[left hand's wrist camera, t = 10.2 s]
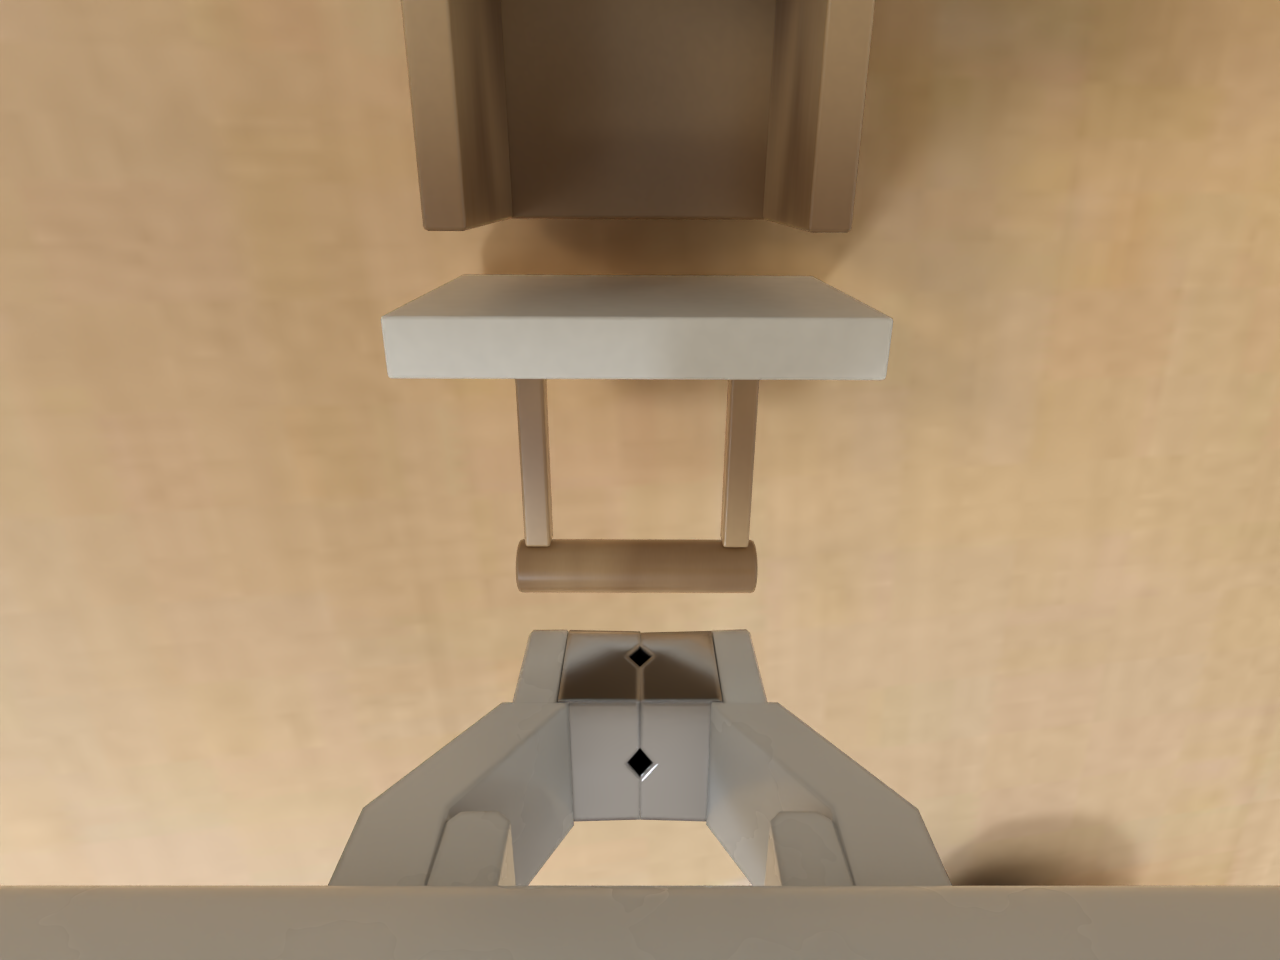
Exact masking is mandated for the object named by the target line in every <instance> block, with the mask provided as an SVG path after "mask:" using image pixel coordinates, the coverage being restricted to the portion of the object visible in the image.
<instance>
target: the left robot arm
mask: <svg viewBox="0 0 1280 960" xmlns="http://www.w3.org/2000/svg"><path fill="white" fill-rule="evenodd" d="M637 819H641V820H676V821H706V825H707V826H708V827H709V829H710V830H711V831H712V833H713V834H714V835H715V837H716V838H717V839H718V841H719V842H720V843H721V845H722V846H723V847H724V848H725V850H726V851H727V852H728V854H729V855H730V856H731V858H732V859H733V860H734V862H735V863H736V864H737V866H738V867H739V868H740V870H741V871H742V872H743V874H744V875H745V876H746V877H747V879H748V880H749V881H750V883H751V884H752V885H753V886H528V885H529V883H530V882H531V881H532V879H533V878H534V877H535V875H536V874H537V873H538V871H539V870H540V869H541V867H542V866H543V865H544V864H545V862H546V861H547V860H548V858H549V857H550V856H551V854H552V853H553V852H554V850H555V849H556V848H557V847H558V845H559V844H560V843H561V841H562V840H563V839H564V837H565V836H566V835H567V833H568V832H569V831H570V829H571V828H572V827H573V826H574V821H602V820H637ZM0 960H1280V886H952V884H951V882H950V880H949V878H948V875H947V873H946V871H945V869H944V866H943V864H942V862H941V860H940V857H939V855H938V853H937V851H936V848H935V846H934V844H933V842H932V839H931V837H930V835H929V833H928V830H927V828H926V826H925V824H924V822H923V819H922V817H921V815H920V813H919V810H918V809H917V808H916V807H914V806H913V805H912V804H910V803H909V802H908V801H906V800H905V799H904V798H903V797H901V796H900V795H899V794H897V793H896V792H895V791H893V790H892V789H891V788H889V787H888V786H887V785H885V784H884V783H883V782H882V781H880V780H879V779H878V778H876V777H875V776H874V775H872V774H871V773H870V772H868V771H867V770H866V769H864V768H863V767H862V766H861V765H859V764H858V763H857V762H855V761H854V760H853V759H851V758H850V757H849V756H847V755H846V754H845V753H843V752H842V751H841V750H840V749H838V748H837V747H836V746H834V745H833V744H832V743H830V742H829V741H828V740H826V739H825V738H824V737H822V736H821V735H820V734H819V733H817V732H816V731H815V730H813V729H812V728H811V727H809V726H808V725H807V724H805V723H804V722H803V721H801V720H800V719H799V718H798V717H796V716H795V715H794V714H792V713H791V712H790V711H788V710H787V709H786V708H784V707H783V706H782V705H780V704H779V703H767V699H766V695H765V691H764V687H763V683H762V679H761V675H760V671H759V667H758V663H757V659H756V655H755V651H754V647H753V643H752V639H751V635H750V632H748V631H747V630H746V629H744V630H717V631H691V632H651V633H640V632H636V631H586V630H570V631H569V632H568V631H567V630H533V631H532V633H531V634H530V635H529V639H528V643H527V647H526V651H525V655H524V659H523V663H522V667H521V671H520V675H519V679H518V683H517V687H516V691H515V695H514V699H513V703H501V704H500V705H498V706H497V707H496V708H494V709H493V710H492V711H490V712H489V713H488V714H486V715H485V716H484V717H482V718H481V719H480V720H478V721H477V722H476V723H475V724H473V725H472V726H471V727H469V728H468V729H467V730H465V731H464V732H463V733H461V734H460V735H459V736H457V737H456V738H455V739H453V740H452V741H451V742H449V743H448V744H447V745H445V746H444V747H443V748H442V749H440V750H439V751H438V752H436V753H435V754H434V755H432V756H431V757H430V758H428V759H427V760H426V761H424V762H423V763H422V764H420V765H419V766H418V767H416V768H415V769H414V770H412V771H411V772H410V773H409V774H407V775H406V776H405V777H403V778H402V779H401V780H399V781H398V782H397V783H395V784H394V785H393V786H391V787H390V788H389V789H387V790H386V791H385V792H383V793H382V794H381V795H380V796H378V797H377V798H376V799H374V800H373V801H372V802H370V803H369V804H368V805H366V806H365V807H364V808H363V809H362V811H361V813H360V816H359V818H358V820H357V822H356V824H355V827H354V829H353V831H352V833H351V836H350V838H349V840H348V842H347V844H346V847H345V849H344V851H343V853H342V855H341V858H340V860H339V862H338V864H337V866H336V869H335V871H334V873H333V875H332V877H331V880H330V882H329V884H328V886H0Z"/></svg>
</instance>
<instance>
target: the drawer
mask: <svg viewBox="0 0 1280 960" xmlns="http://www.w3.org/2000/svg"><path fill="white" fill-rule="evenodd" d="M401 6H402V16H403V26H404V36H405V46H406V56H407V67H408V77H409V87H410V97H411V107H412V117H413V127H414V138H415V148H416V158H417V168H418V178H419V188H420V199H421V209H422V219H423V227H424V229H425V230H428V231H464V230H468V229H472V228H476V227H480V226H483V225H487V224H491V223H495V222H499V221H502V220H506V219H510V218H550V219H765V220H769V221H772V222H776V223H780V224H783V225H787V226H791V227H794V228H798V229H801V230H805V231H809V232H849V231H850V230H851V228H852V219H853V209H854V200H855V190H856V181H857V171H858V161H859V152H860V142H861V132H862V123H863V113H864V104H865V94H866V84H867V75H868V65H869V55H870V46H871V36H872V27H873V17H874V7H875V0H401ZM381 324H382V332H383V341H384V349H385V357H386V365H387V373H388V376H389V377H390V378H424V379H515V382H516V398H517V415H518V432H519V449H520V466H521V483H522V500H523V516H524V533H525V539H523V540H521V541H520V542H519V545H518V549H517V556H516V581H517V586H518V589H519V591H521V592H610V593H751V592H754V590H755V587H756V583H757V553H756V547H755V544H754V542H753V541H752V540H749V528H750V512H751V497H752V481H753V466H754V450H755V435H756V420H757V404H758V389H759V380H883V379H885V377H886V373H887V365H888V357H889V350H890V342H891V334H892V327H893V319H892V318H891V317H889V316H887V315H885V314H883V313H881V312H879V311H877V310H875V309H874V308H872V307H870V306H868V305H866V304H864V303H862V302H860V301H858V300H856V299H855V298H853V297H851V296H849V295H847V294H845V293H843V292H841V291H839V290H837V289H836V288H834V287H832V286H830V285H828V284H826V283H824V282H822V281H820V280H819V279H817V278H815V277H813V276H704V275H462V276H460V277H458V278H456V279H454V280H452V281H450V282H448V283H446V284H444V285H442V286H440V287H438V288H436V289H434V290H432V291H430V292H428V293H427V294H425V295H423V296H421V297H419V298H417V299H415V300H413V301H411V302H409V303H407V304H405V305H403V306H401V307H399V308H397V309H395V310H393V311H391V312H389V313H388V314H386V315H384V316H382V317H381ZM546 379H703V380H728V394H727V415H726V435H725V455H724V476H723V496H722V517H721V540H610V539H552V537H553V525H552V502H551V479H550V456H549V433H548V410H547V387H546Z"/></svg>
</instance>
